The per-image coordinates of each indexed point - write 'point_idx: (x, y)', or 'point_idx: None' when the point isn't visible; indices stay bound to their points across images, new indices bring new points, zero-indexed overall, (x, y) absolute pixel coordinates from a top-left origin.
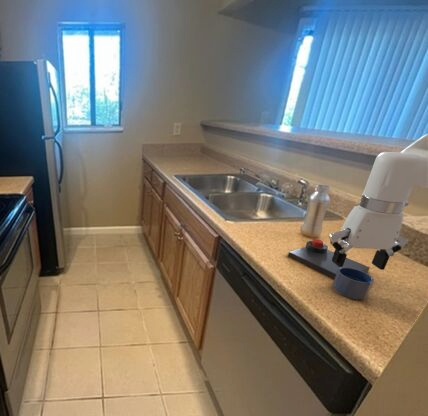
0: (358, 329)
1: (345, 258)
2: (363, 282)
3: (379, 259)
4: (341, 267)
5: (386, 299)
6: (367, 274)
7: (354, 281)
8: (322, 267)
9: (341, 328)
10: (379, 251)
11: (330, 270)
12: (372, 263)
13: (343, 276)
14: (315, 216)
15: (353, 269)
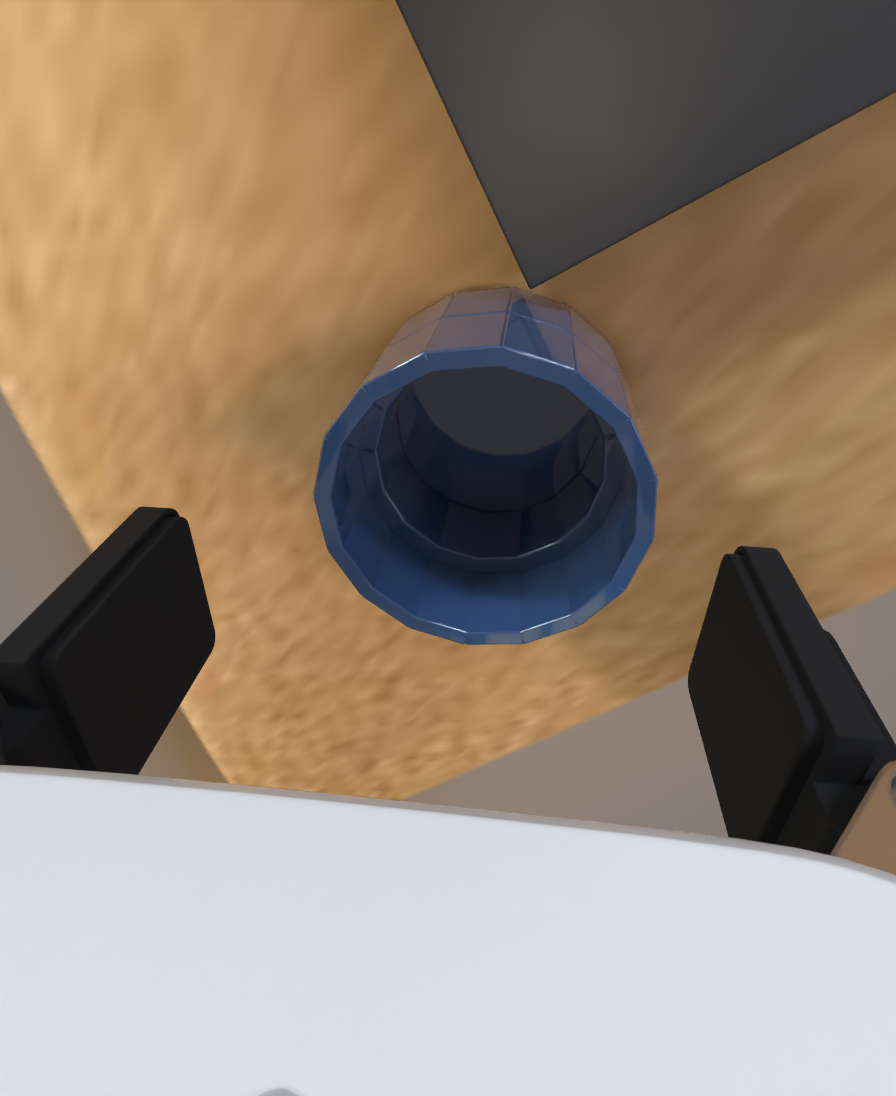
0: (309, 728)
1: (150, 749)
2: (458, 639)
3: (734, 725)
4: (420, 359)
5: (751, 504)
6: (640, 509)
7: (392, 609)
8: (405, 7)
9: (225, 720)
10: (833, 767)
11: (474, 101)
12: (723, 566)
13: (328, 541)
14: None
15: (567, 388)
